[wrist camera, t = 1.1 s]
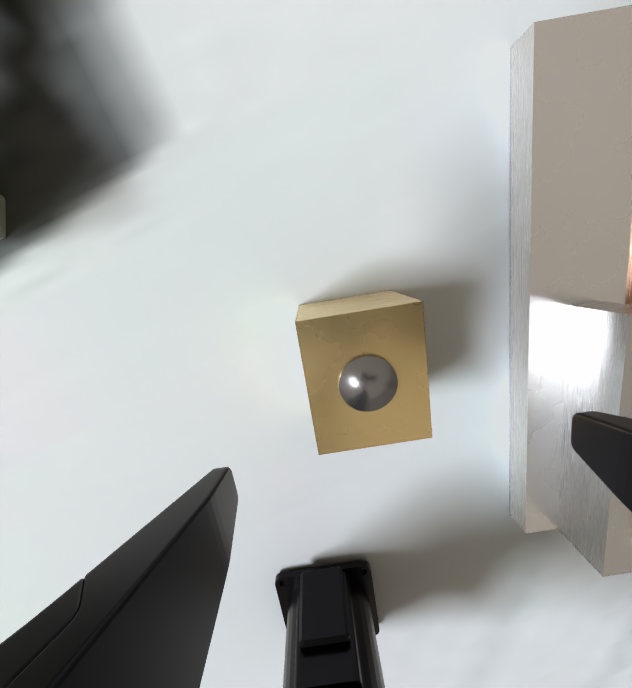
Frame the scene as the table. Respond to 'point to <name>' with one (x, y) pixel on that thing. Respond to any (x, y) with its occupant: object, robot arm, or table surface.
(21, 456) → the table surface
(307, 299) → the table surface
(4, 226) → the valve
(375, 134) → the table surface
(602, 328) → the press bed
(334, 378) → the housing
